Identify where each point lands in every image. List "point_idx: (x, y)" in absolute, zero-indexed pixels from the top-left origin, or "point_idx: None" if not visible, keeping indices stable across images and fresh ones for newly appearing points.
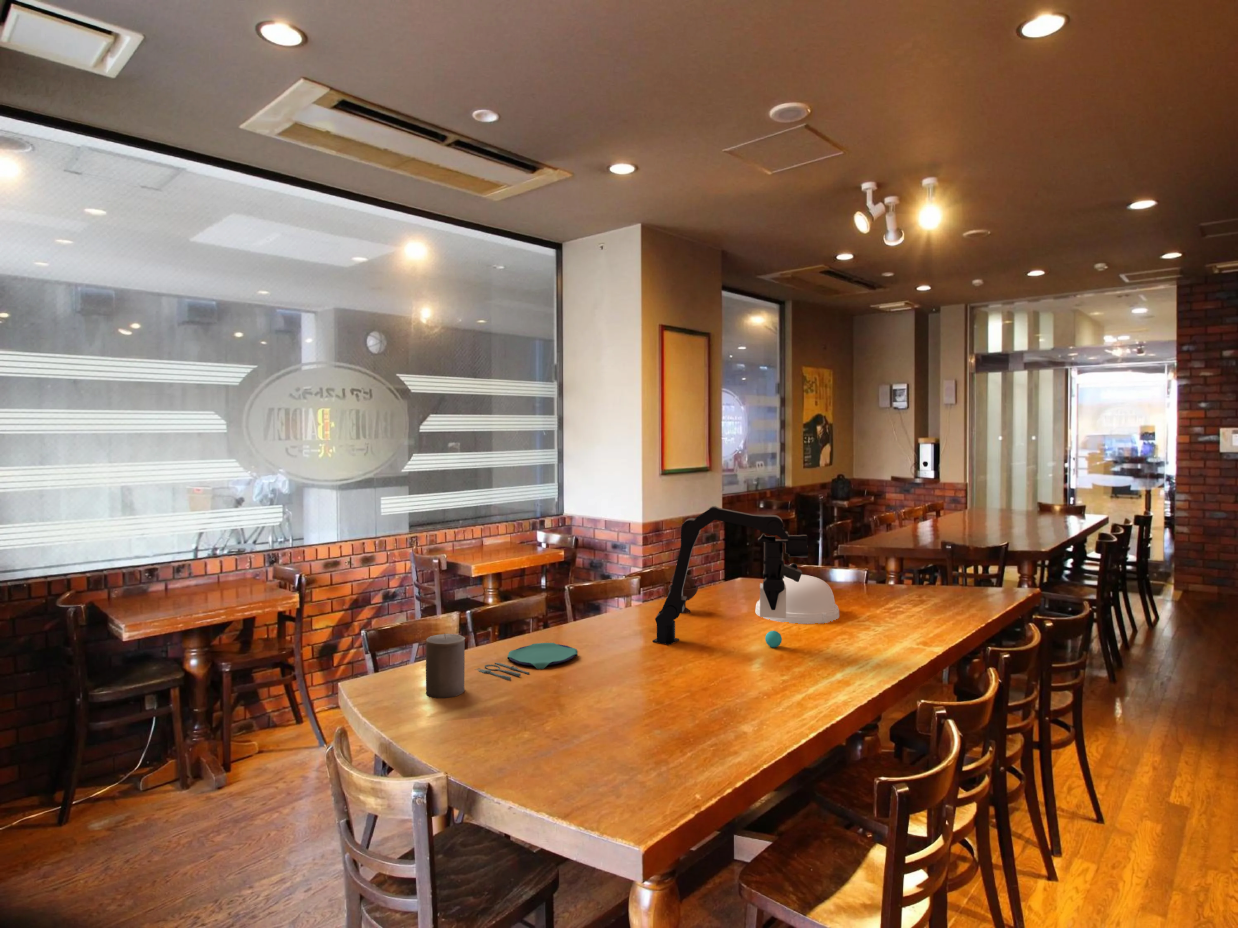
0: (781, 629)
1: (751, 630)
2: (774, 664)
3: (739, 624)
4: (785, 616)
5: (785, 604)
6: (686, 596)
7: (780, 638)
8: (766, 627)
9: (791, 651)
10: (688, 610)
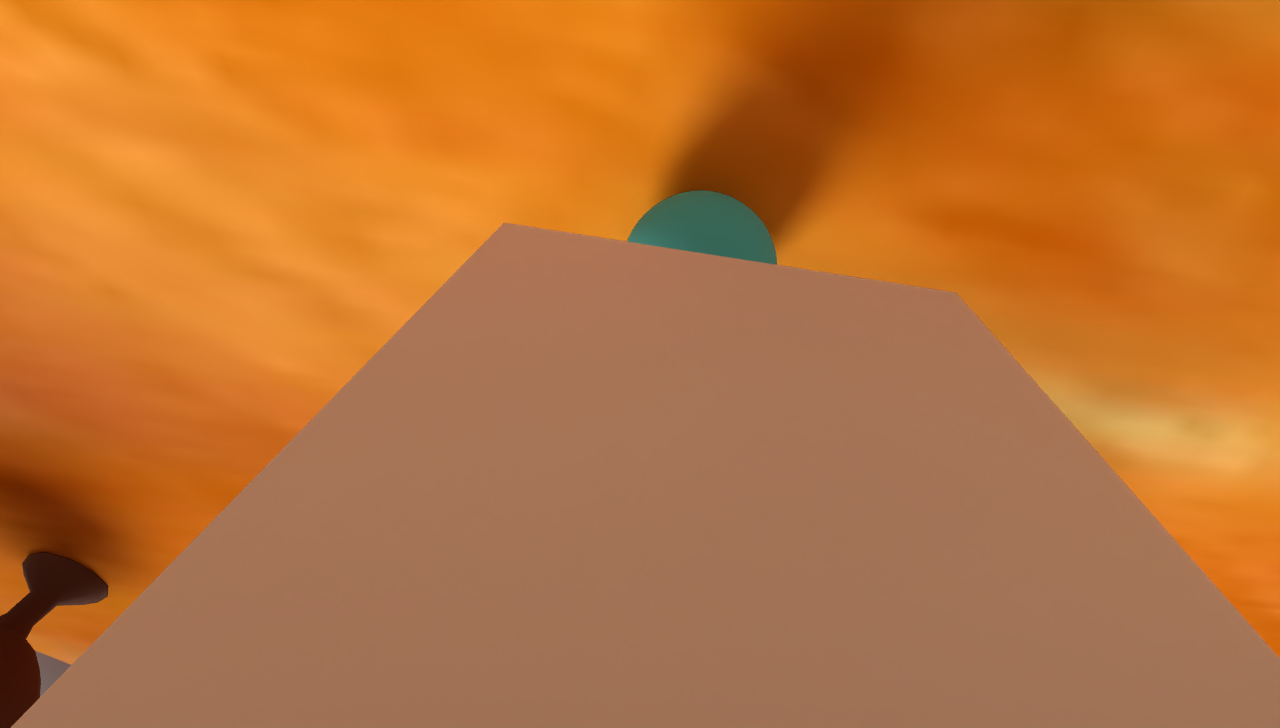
0: (97, 65)
1: (265, 325)
2: (1182, 317)
3: (149, 375)
4: (962, 313)
5: (1098, 479)
6: (11, 669)
7: (751, 220)
8: (112, 199)
9: (849, 99)
10: (56, 570)
